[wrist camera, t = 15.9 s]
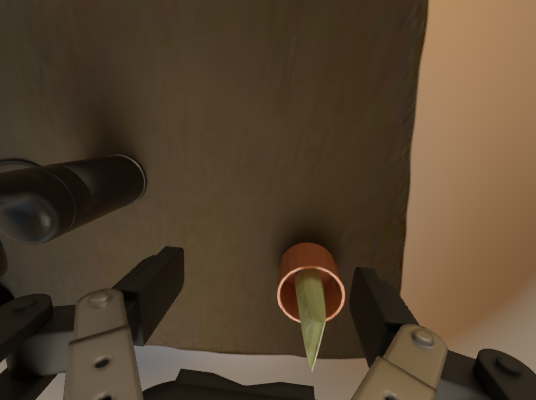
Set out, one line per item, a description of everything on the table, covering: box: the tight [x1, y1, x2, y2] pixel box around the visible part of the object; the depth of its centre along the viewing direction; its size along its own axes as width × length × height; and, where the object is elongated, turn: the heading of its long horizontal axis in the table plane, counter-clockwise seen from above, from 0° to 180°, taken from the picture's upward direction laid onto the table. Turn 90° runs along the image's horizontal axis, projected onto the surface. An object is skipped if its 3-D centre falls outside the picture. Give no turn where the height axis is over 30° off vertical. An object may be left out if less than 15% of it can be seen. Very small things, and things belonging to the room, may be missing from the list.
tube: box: [294, 268, 326, 373], centre depth 42 cm, size 6×5×20 cm
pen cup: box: [277, 243, 345, 323], centre depth 47 cm, size 11×11×9 cm
